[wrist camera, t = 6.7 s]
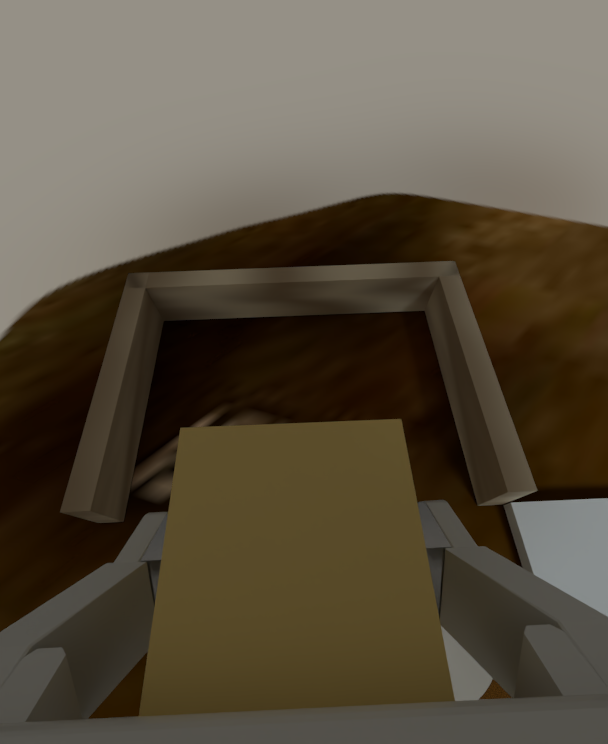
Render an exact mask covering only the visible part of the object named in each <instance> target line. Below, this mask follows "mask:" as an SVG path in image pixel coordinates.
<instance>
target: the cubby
mask: <svg viewBox="0 0 608 744" xmlns="http://www.w3.org/2000/svg"><path fill="white" fill-rule="evenodd" d="M403 311H425V314H426V318H427V322H428V325H429V329H430V333H431V336H432V340H433V344H434V347H435V351H436V354H437V358H438V362H439V365H440V369H441V373H442V376H443V380H444V384H445V387H446V391H447V395H448V398H449V402H450V406H451V409H452V413H453V417H454V420H455V424H456V428H457V431H458V435H459V439H460V442H461V446H462V450H463V453H464V457H465V461H466V464H467V468H468V472H469V475H470V479H471V483H472V486H473V490H474V494H475V497H476V501H477V505H478V506H482V505H503V504H505V503H508V502H510V501H513V500H515V499H518V498H520V497H523V496H525V495H528V494H530V493H533V492H535V491H537V488H536V485H535V482H534V480H533V477H532V474H531V471H530V469H529V466H528V463H527V460H526V457H525V455H524V452H523V449H522V446H521V444H520V441H519V438H518V435H517V433H516V430H515V427H514V424H513V421H512V419H511V416H510V413H509V410H508V408H507V405H506V402H505V399H504V397H503V394H502V391H501V388H500V385H499V383H498V380H497V377H496V374H495V372H494V369H493V366H492V363H491V360H490V358H489V355H488V352H487V349H486V347H485V344H484V341H483V338H482V336H481V333H480V330H479V327H478V324H477V322H476V319H475V316H474V313H473V311H472V308H471V305H470V302H469V300H468V297H467V294H466V291H465V288H464V286H463V283H462V280H461V277H460V275H459V272H458V269H457V266H456V263H455V261H441V262H415V263H388V264H361V265H335V266H308V267H282V268H255V269H229V270H202V271H175V272H149V273H128V277H127V280H126V284H125V287H124V291H123V294H122V298H121V301H120V304H119V308H118V311H117V315H116V318H115V322H114V325H113V329H112V332H111V336H110V339H109V343H108V346H107V350H106V353H105V357H104V360H103V364H102V367H101V371H100V374H99V378H98V381H97V385H96V388H95V392H94V395H93V399H92V402H91V406H90V409H89V413H88V416H87V419H86V423H85V426H84V430H83V433H82V437H81V440H80V444H79V447H78V451H77V454H76V458H75V461H74V465H73V468H72V472H71V475H70V479H69V482H68V486H67V489H66V493H65V496H64V500H63V503H62V507H61V510H60V512H61V513H64V514H68V515H71V516H75V517H79V518H82V519H86V520H89V521H93V522H96V523H109V522H124V517H125V512H126V507H127V502H128V497H129V492H130V487H131V482H132V477H133V472H134V467H135V462H136V457H137V452H138V447H139V442H140V437H141V432H142V427H143V422H144V417H145V412H146V407H147V402H148V397H149V392H150V387H151V382H152V377H153V372H154V367H155V362H156V357H157V352H158V347H159V342H160V337H161V332H162V327H163V322H164V321H174V320H199V319H225V318H250V317H276V316H301V315H327V314H352V313H378V312H403Z"/></svg>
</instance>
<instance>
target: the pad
mask: <svg viewBox="0 0 608 744" xmlns="http://www.w3.org/2000/svg"><path fill="white" fill-rule="evenodd" d="M503 506H504V509H505V512H506V515H507V519H508V522H509V525H510V528H511V532H512V535H513V538H514V541H515V545H516V548H517V551H518V554H519V558H520V561H521V564H522V567H523V569H525V570H527V571H529V572H530V573H532V574H534V575H536V576H537V577H539V578H541V579H543V580H544V581H546V582H548V583H550V584H551V585H553V586H555V587H557V588H558V589H560V590H562V591H564V592H565V593H567V594H569V595H571V596H572V597H574V598H576V599H578V600H579V601H581V602H583V603H585V604H586V605H588V606H590V607H592V608H593V609H595V610H597V611H599V612H600V613H602V614H604V615H606V616H607V617H608V498H600V499H578V500H556V501H534V502H512V503H508V504H506V505H503Z"/></svg>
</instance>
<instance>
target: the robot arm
mask: <svg viewBox="0 0 608 744" xmlns="http://www.w3.org/2000/svg"><path fill="white" fill-rule="evenodd" d="M417 504H418V509H419V514H420V519H421V525H422V530H423V535H424V540H425V546H426V551H427V556H428V561H429V567H430V572H431V577H432V582H433V588H434V593H435V598H436V603H437V609H438V614H439V619H440V624H441V626H442V627H443V628H444V629H445V630H446V631H447V632H448V633H449V634H450V635H451V636H452V637H453V638H454V639H455V640H456V641H457V642H458V643H459V644H460V645H461V646H462V647H463V648H464V649H465V650H466V651H467V652H468V653H469V654H470V655H471V656H472V657H473V658H474V659H475V660H476V661H477V663H478V664H479V665H480V666H481V667H482V668H483V669H484V670H485V671H486V672H487V673H488V674H489V675H490V676H491V677H492V678H493V679H494V680H495V681H496V682H497V683H498V684H499V685H500V686H501V687H502V688H503V689H504V690H505V691H506V692H507V693H508V694H509V695H510V696H511V697H512V698H505V699H484V700H464V701H443V702H423V703H402V704H382V705H361V706H341V707H321V708H301V709H280V710H260V711H240V712H219V713H199V714H179V715H159V716H138V717H118V718H98V719H88V718H89V717H90V715H91V714H92V713H93V712H94V711H95V710H96V709H97V708H98V706H99V705H100V704H101V703H102V702H103V701H104V700H105V699H106V697H107V696H108V695H109V694H110V693H111V692H112V691H113V690H114V688H115V687H116V686H117V685H118V684H119V683H120V682H121V681H122V679H123V678H124V677H125V676H126V675H127V674H128V673H129V672H130V670H131V669H132V668H133V667H134V666H135V665H136V664H137V663H138V661H139V660H140V659H141V658H142V657H143V656H144V655H145V654H146V652H147V651H148V648H149V642H150V635H151V628H152V621H153V614H154V607H155V600H156V593H157V586H158V579H159V572H160V565H161V558H162V551H163V544H164V538H165V531H166V524H167V517H168V512H153V513H148V514H146V515H145V516H144V517H143V518H142V520H141V521H140V523H139V524H138V526H137V527H136V529H135V531H134V532H133V534H132V535H131V537H130V538H129V540H128V541H127V543H126V544H125V546H124V547H123V549H122V550H121V552H120V554H119V555H118V557H117V558H116V560H115V561H114V563H106V564H105V565H103V566H101V567H100V568H98V569H97V570H95V571H94V572H92V573H91V574H89V575H88V576H86V577H85V578H83V579H81V580H80V581H78V582H77V583H75V584H74V585H72V586H71V587H69V588H68V589H66V590H64V591H63V592H61V593H60V594H58V595H57V596H55V597H54V598H52V599H51V600H49V601H47V602H46V603H44V604H43V605H41V606H40V607H38V608H37V609H35V610H34V611H32V612H30V613H29V614H27V615H26V616H24V617H23V618H21V619H20V620H18V621H17V622H15V623H14V624H12V625H10V626H9V627H7V628H6V629H4V630H3V631H1V632H0V744H608V617H607V616H606V615H604V614H602V613H600V612H599V611H597V610H595V609H593V608H592V607H590V606H588V605H586V604H585V603H583V602H581V601H579V600H578V599H576V598H574V597H572V596H571V595H569V594H567V593H565V592H564V591H562V590H560V589H558V588H557V587H555V586H553V585H551V584H550V583H548V582H546V581H544V580H543V579H541V578H539V577H537V576H536V575H534V574H532V573H530V572H529V571H527V570H525V569H523V568H522V567H520V566H518V565H516V564H515V563H513V562H511V561H509V560H508V559H506V558H504V557H502V556H501V555H499V554H497V553H495V552H494V551H492V550H490V549H488V548H487V547H485V546H481V547H478V546H477V544H476V543H475V542H474V540H473V539H472V537H471V536H470V534H469V533H468V531H467V530H466V529H465V527H464V526H463V524H462V523H461V521H460V520H459V518H458V517H457V516H456V514H455V513H454V511H453V510H452V508H451V507H450V505H449V504H448V503H447V501H445V500H432V501H423V502H417Z"/></svg>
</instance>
